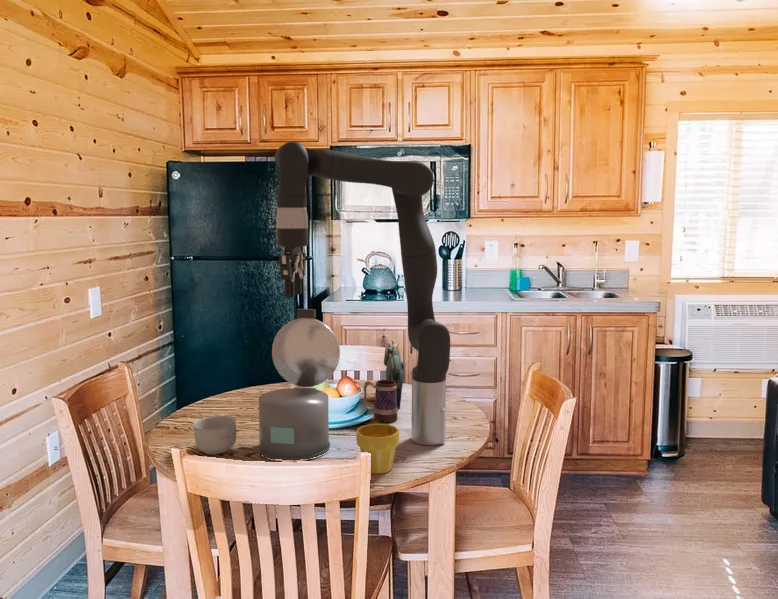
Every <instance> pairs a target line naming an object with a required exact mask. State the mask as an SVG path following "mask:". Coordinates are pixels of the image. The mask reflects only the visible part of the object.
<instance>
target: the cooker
mask: <svg viewBox="0 0 778 599" xmlns="http://www.w3.org/2000/svg"><path fill="white" fill-rule="evenodd" d="M329 421H330V420H329V395H328V393H327V392H325V391H322V390H319V389H317V388H316V387H300V386H295V387H293V388H292V387H290V388H282V389H275V390H270V391H268V392H264V393H262V394H261V395H260V396H258V430H259V431H258V433H259V434H258V436H259V438H258V440H259V441H258V442H259V444H258V454H259V453H260V454H261V455H263V456H264V457H267V458H270V459H282V460H294V461H295V460H300V459H310V458H313V457H317V456H319V455H322V454H324V453H326V452H327V451H328V450H329V448H330V449H331V441H330V440H329V438H330V433H329V430H330V428H329V423H330V422H329ZM329 451H330V450H329ZM260 454H259V455H260ZM261 455H260V456H261Z"/></svg>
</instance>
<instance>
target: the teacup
mask: <svg viewBox="0 0 778 599" xmlns="http://www.w3.org/2000/svg"><path fill="white" fill-rule="evenodd" d="M236 423H237V419H236V417H234V416H231V415H225V414H224V413H219V414H218V415H212V416H208V417H207V416H206V417H203V418H200V419H198V420H196V421H194V422H193V423H192V428H193V434H194V435H193V436H194V442H195V445H196V448H197V449H198V450H199V451H200V452H202V453H204V454H206V455H220V453H221V454H224V453H227V452H228V451H230V450H231V448H232V447H233V446H234V445H235V444H236V442H237V424H236Z"/></svg>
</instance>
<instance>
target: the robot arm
mask: <svg viewBox="0 0 778 599" xmlns="http://www.w3.org/2000/svg"><path fill="white" fill-rule="evenodd" d="M274 163H275V165H276V167H277V168H278V169H279V184H278V186H277V191H276V193H277V194H276V196H277V197H276V198H277V199H276V202H277V204H276V205H277V206H276V207H277V209H276V212H277V213H276V244H277V246H278V247H281V248H282V247H283V254H282V255H281V254H280V255H279V256H278V263H279V276H280V280H282V281H283V282H284V297H285V298H290V299H291V298H294V297H295V295H298V296H299V295H302V293H303V292H302V285H303V284H302V283H303V282H302V280H303V278H304V276H305V275H306V256H307V254H306V252H302V248H303V247H308V245H309V224H308V223H309V219H308V218H309V217H308V210H307V207H308V206H307V182H308V176H309V177H311V176H312V177H317V178H321V179H326V180H332V181H337V182H344V183H345V182H346V183H353V184H356V183H357V184H369V185H376V186H377V185H378V186H384V187H388V188H391V191H392V196H393V200H394V205H395V210H396V214H397V224H398V236H399V245H400V246H399V247H400V258H401V265H402V272H403V278H404V279H403V280H404V288H405V295H406V302H407V303H406V306H407V336H408V338H407V339H408V341H409V343H410V345H411V347H412V348H413V349H414V350H416V351H417V353H418V355H417V364H416V365H415V366H414V367H413V368H412V370H411V434H410V435H411V441H412V442H413V443H415V444H418V445H421V446H437V445H444V444H445V442H446V437H447V404H446V402H447V396H446V395H447V394H446V391H447V373H448V371H449V368H450V367H449V366H450V356H451V355H450V354H451V335H450V332H449V329H448V327H447V326H446V325H444V323H441V322H438V321H436V318H435V311H434V307H433V297H434V296H433V295H434V290H435V285H436V282H437V278H438V261H437V260H438V259H437V249H436V245H435V241H434V238H433V236H432V233H431V230H430V228H429V226H428V223H427V220H426V217H425V214H424V213H425V212H424V207H423V196H424V195H425V194H427V193H428V192H429V191H430V190H431V188H432V187H433V185H434V173H433V171H432V169H431V168H430V167H429V165H428V164H426V163H425V162H423V161H420V160H407V161H405V160H403V161H401V160H387V159H379V158H371V157H367V156H362V155H358V154H355V153H347V152H343V151H340V150H339V151H338V150H333V149H327V148H326V149H325V148H323V149H322V148H321V149H314V148H309V147H305V146H304V145H303V144H301V143H300V142H297V141H289V142H286V143H284V144H283V145H280V146H279V147H278V148H277V150H276V151H275V153H274ZM305 277H306V276H305Z"/></svg>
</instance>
